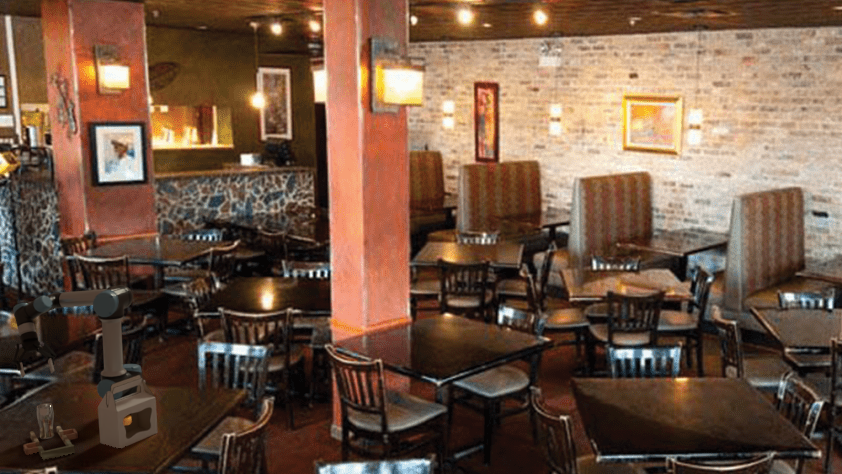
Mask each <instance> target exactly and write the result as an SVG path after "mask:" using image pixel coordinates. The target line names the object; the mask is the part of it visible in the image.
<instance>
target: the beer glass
mask: <svg viewBox="0 0 842 474" xmlns="http://www.w3.org/2000/svg"><path fill="white" fill-rule="evenodd" d="M54 415H55V413H54V408H53V404H52V403H50V402H47V403H41V404H38V405H37V406H36V418H37V423H38V426H39V438H40V440H48V439H53V438H54V437H55V434H54V418H55V417H54Z"/></svg>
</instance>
